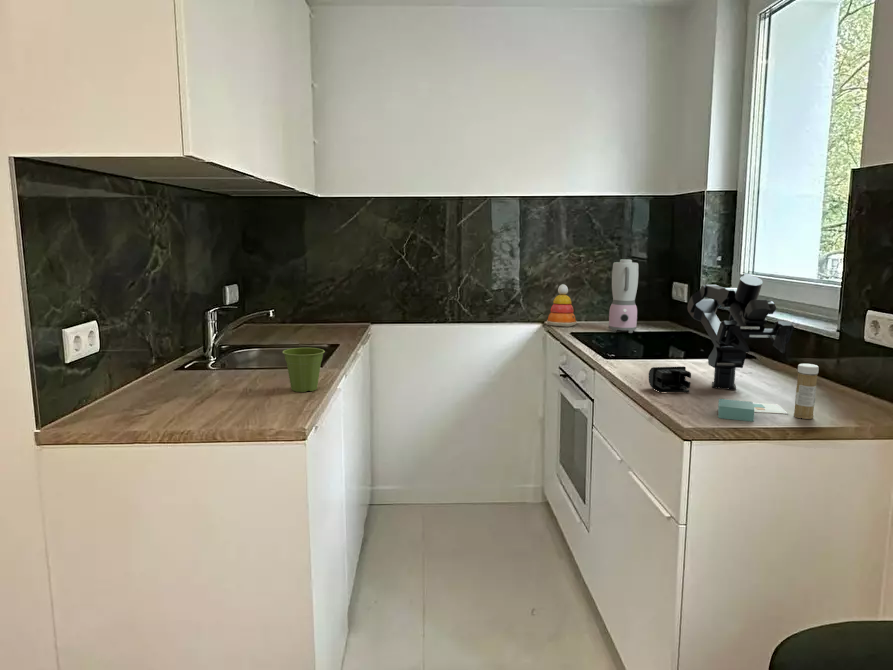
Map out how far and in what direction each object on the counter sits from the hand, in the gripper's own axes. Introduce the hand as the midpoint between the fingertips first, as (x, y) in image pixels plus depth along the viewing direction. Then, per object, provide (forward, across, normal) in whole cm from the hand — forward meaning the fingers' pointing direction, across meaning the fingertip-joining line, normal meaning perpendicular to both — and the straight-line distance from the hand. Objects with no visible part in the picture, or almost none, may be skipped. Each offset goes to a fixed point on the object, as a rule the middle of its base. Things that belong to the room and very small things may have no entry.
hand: (766, 351), depth 174 cm
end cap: (-12, -17, +24) cm, 31 cm away
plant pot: (-8, -123, +22) cm, 125 cm away
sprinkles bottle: (+13, +8, +11) cm, 19 cm away
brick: (+12, -9, +11) cm, 19 cm away
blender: (-108, -4, +72) cm, 130 cm away
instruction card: (+6, 0, +15) cm, 16 cm away
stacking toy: (-123, -29, +80) cm, 149 cm away
